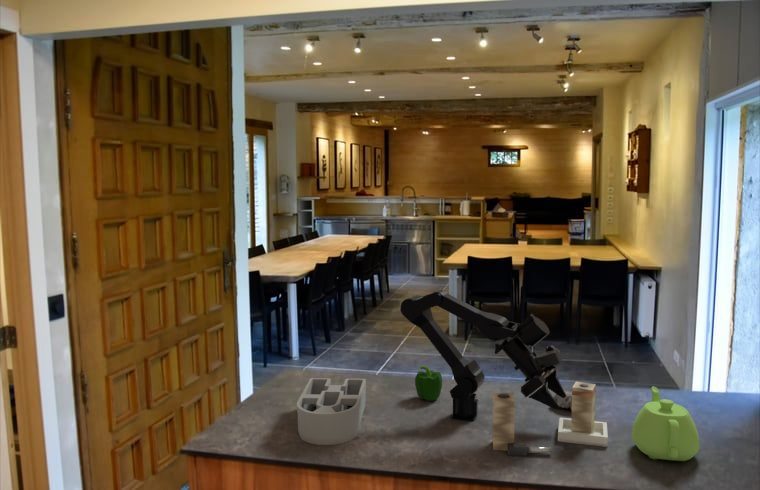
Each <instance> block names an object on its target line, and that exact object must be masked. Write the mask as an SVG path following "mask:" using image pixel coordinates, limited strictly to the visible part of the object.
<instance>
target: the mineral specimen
mask: <svg viewBox="0 0 760 490" xmlns="http://www.w3.org/2000/svg"><path fill="white" fill-rule="evenodd" d="M564 392H565V394H566V397H565V398H562V397H560V396H559V395H557V394H556V393H554V396H553V398H554V399H555V401H556V402H557V404H558V406H559V408H562V409H563V408H565V409H568V408H569V409H570V410H571V411H572V390H571V391H564Z"/></svg>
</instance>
